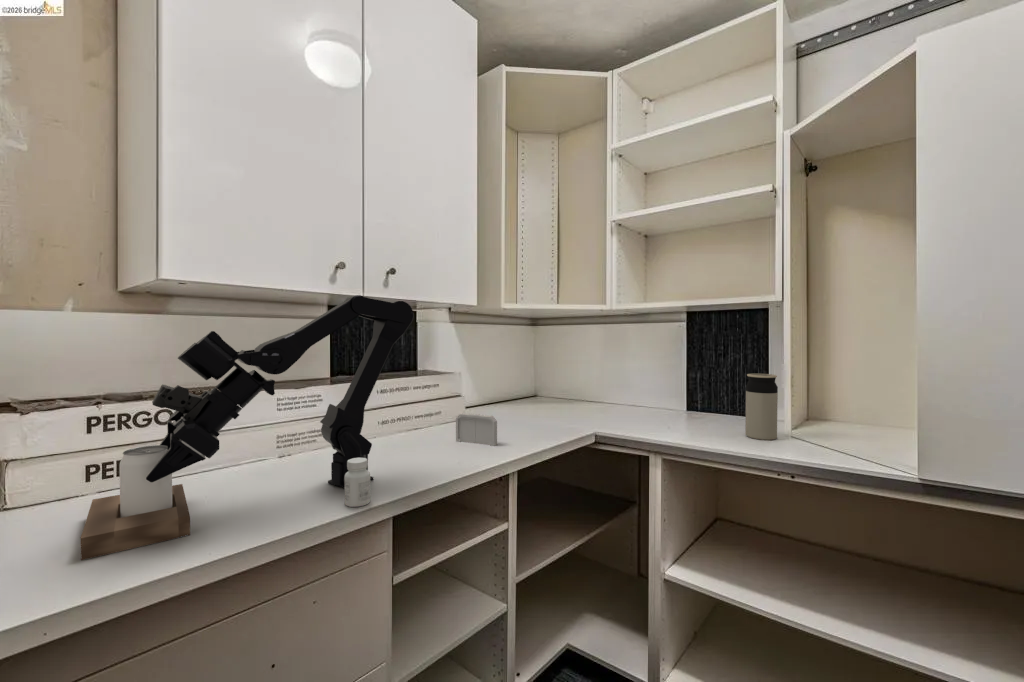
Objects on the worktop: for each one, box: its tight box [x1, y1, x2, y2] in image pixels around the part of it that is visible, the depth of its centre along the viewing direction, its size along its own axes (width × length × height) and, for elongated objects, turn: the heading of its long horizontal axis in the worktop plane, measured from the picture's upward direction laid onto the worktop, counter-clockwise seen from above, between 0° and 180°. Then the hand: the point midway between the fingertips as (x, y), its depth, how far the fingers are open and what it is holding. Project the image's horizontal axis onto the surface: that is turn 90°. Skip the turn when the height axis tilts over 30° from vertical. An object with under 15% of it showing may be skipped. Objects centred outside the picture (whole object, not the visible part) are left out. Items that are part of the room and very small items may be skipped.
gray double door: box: [455, 412, 498, 447], centre depth 124 cm, size 2×12×8 cm, turn 65°
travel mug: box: [744, 373, 779, 441], centre depth 130 cm, size 8×8×18 cm
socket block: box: [80, 483, 191, 561], centre depth 72 cm, size 12×18×3 cm, turn 39°
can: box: [119, 444, 173, 518], centre depth 72 cm, size 6×6×12 cm
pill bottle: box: [344, 458, 372, 508], centre depth 81 cm, size 4×4×8 cm
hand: (148, 473), depth 72 cm, fingers open, 9 cm apart
